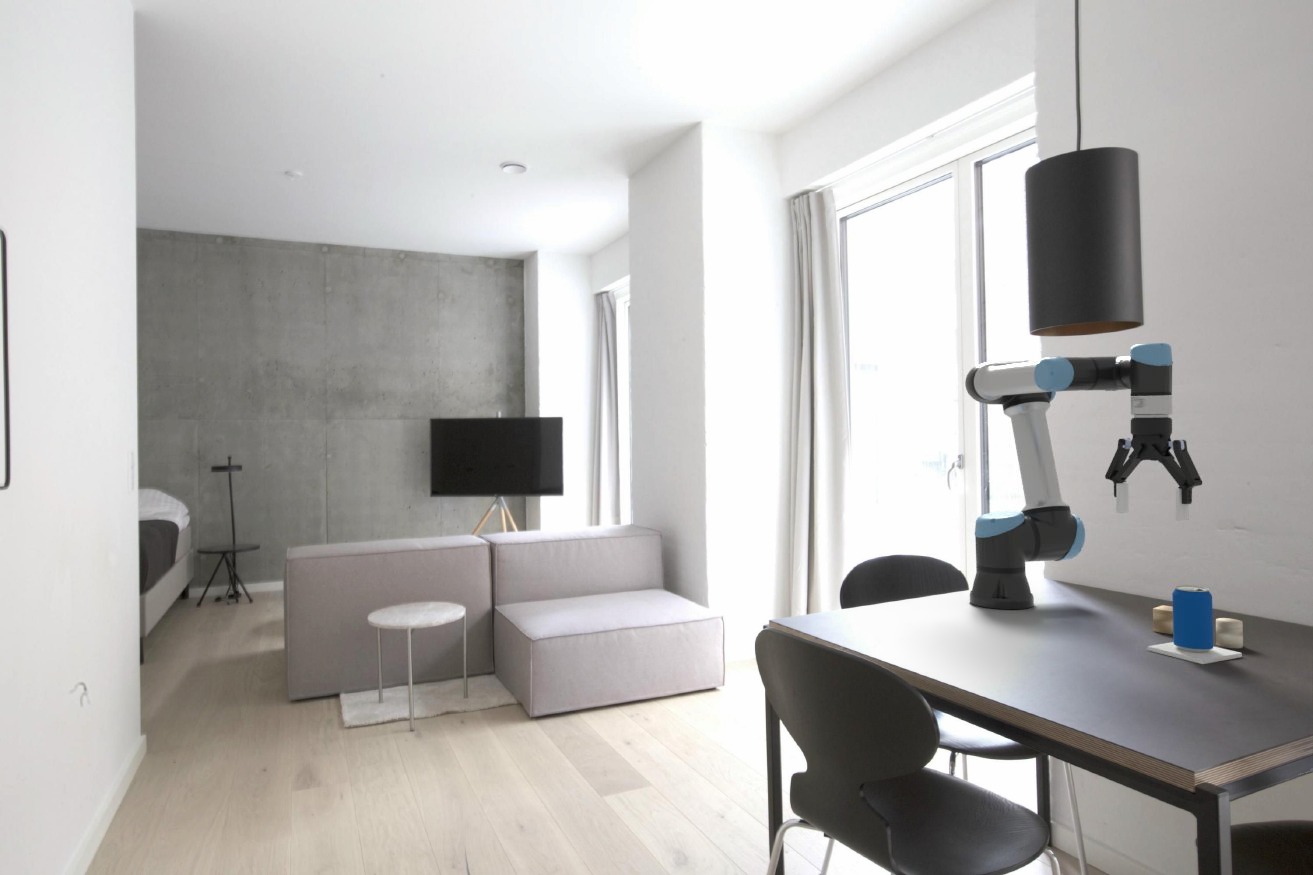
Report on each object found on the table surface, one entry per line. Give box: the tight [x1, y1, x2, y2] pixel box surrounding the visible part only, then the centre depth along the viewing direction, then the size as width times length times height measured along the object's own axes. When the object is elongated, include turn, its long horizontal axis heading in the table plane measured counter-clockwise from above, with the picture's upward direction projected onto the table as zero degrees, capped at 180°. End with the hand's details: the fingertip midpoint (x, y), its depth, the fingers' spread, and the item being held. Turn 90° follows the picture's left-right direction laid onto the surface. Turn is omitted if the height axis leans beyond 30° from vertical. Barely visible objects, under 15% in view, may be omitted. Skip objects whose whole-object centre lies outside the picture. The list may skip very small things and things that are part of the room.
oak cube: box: [1152, 604, 1173, 635], centre depth 175 cm, size 5×5×5 cm
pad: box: [1147, 641, 1243, 665], centre depth 157 cm, size 11×11×1 cm
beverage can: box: [1171, 584, 1214, 653], centre depth 157 cm, size 6×6×12 cm
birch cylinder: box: [1215, 617, 1244, 649], centre depth 162 cm, size 4×4×5 cm
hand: (1151, 516), depth 171 cm, fingers open, 13 cm apart
